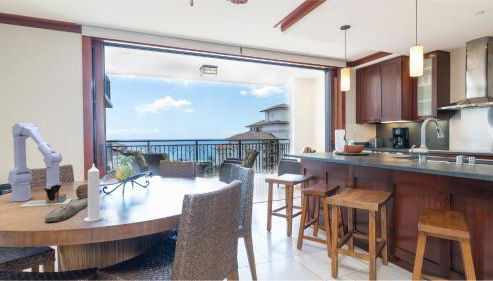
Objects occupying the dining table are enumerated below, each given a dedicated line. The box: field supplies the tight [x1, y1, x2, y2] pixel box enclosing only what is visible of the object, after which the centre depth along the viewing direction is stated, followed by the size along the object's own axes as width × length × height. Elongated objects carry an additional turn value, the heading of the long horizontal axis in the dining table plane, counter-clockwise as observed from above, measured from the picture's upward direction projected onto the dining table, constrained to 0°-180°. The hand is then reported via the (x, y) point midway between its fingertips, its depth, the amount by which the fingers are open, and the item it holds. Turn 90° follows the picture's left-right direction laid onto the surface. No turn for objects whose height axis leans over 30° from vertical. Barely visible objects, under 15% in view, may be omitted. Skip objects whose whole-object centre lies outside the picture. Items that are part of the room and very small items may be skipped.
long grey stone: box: [44, 198, 88, 223], centre depth 131 cm, size 35×5×10 cm
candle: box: [83, 162, 104, 223], centre depth 120 cm, size 7×7×25 cm
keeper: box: [45, 192, 60, 203], centre depth 148 cm, size 4×5×4 cm
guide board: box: [18, 193, 74, 208], centre depth 148 cm, size 12×21×4 cm, turn 110°
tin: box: [75, 182, 88, 200], centre depth 163 cm, size 15×3×8 cm, turn 168°
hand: (53, 199), depth 148 cm, fingers closed on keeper, 4 cm apart
